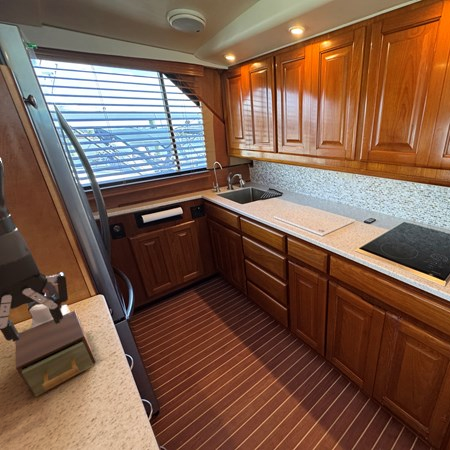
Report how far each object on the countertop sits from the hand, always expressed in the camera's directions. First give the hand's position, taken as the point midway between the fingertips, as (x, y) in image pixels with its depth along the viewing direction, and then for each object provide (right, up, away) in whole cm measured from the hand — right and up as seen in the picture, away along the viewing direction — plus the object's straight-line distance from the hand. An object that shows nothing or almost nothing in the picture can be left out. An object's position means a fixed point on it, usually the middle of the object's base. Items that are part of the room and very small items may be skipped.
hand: (37, 329), depth 49 cm
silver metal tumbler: (-23, -9, +26) cm, 36 cm away
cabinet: (-8, -14, +13) cm, 20 cm away
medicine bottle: (-17, -11, +21) cm, 29 cm away
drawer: (-4, -14, +10) cm, 18 cm away
